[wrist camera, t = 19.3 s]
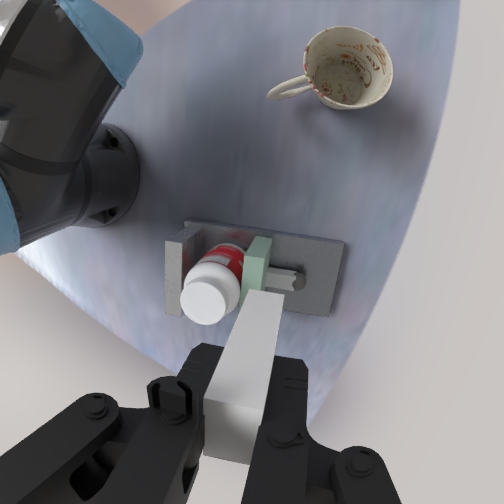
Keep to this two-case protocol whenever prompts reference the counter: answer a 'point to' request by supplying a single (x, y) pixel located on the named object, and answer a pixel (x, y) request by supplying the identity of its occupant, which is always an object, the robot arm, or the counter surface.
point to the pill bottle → (213, 284)
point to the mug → (342, 69)
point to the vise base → (281, 257)
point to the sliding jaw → (266, 271)
